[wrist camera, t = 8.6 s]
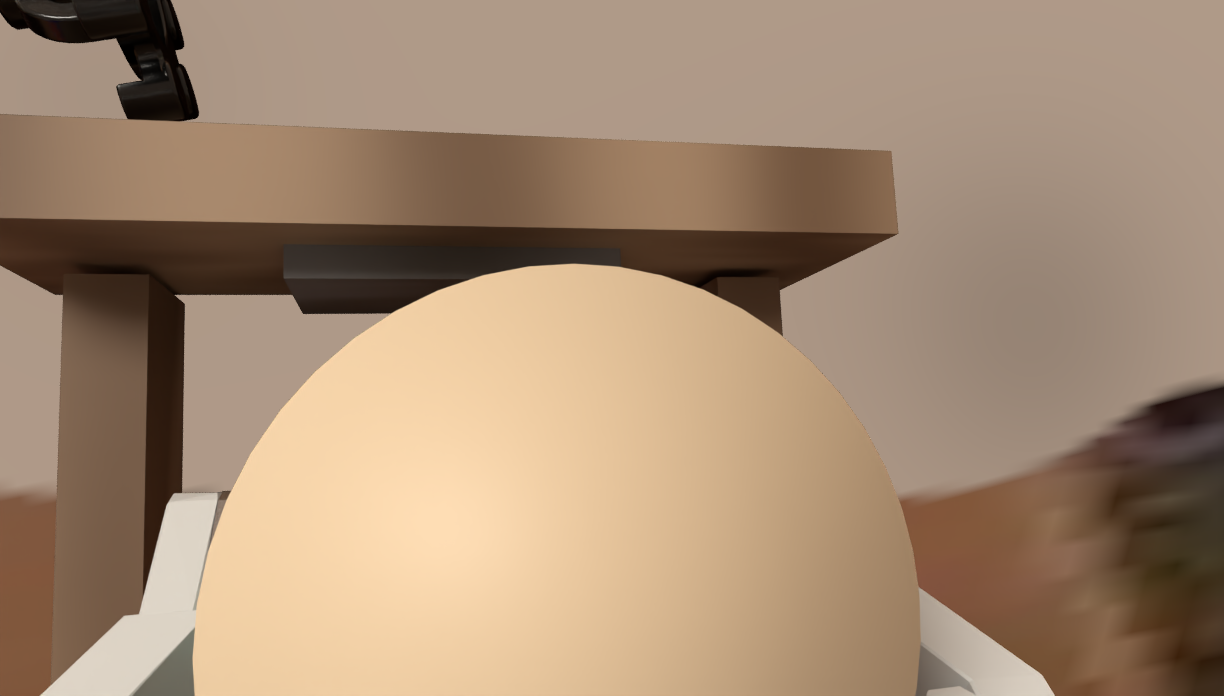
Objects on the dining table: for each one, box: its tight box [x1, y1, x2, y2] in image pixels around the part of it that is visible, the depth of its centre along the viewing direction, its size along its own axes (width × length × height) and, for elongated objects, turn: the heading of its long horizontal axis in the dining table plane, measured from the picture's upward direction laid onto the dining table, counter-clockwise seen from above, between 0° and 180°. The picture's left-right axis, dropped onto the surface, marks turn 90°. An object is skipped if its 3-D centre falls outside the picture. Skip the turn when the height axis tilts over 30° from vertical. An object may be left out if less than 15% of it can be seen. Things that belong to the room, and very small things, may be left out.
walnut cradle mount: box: [0, 114, 898, 685], centre depth 18 cm, size 16×12×6 cm
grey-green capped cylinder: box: [193, 264, 921, 696], centre depth 12 cm, size 5×5×10 cm
